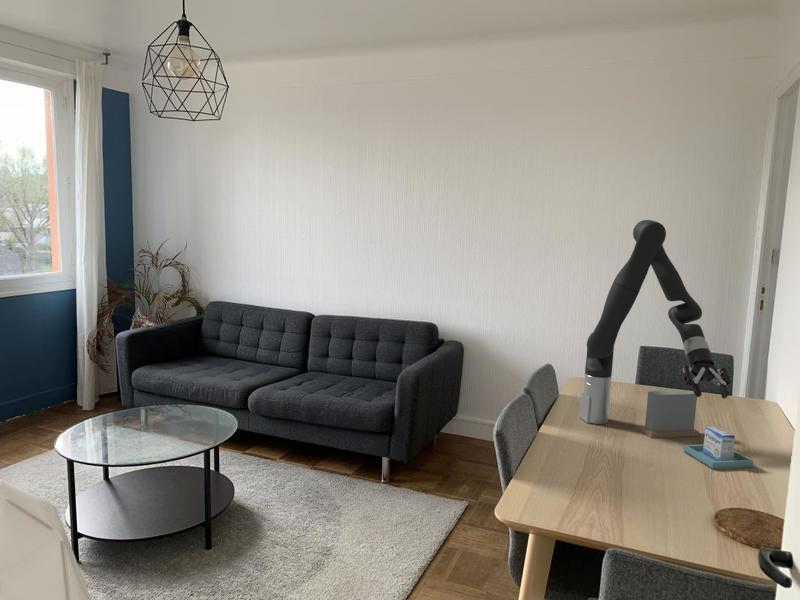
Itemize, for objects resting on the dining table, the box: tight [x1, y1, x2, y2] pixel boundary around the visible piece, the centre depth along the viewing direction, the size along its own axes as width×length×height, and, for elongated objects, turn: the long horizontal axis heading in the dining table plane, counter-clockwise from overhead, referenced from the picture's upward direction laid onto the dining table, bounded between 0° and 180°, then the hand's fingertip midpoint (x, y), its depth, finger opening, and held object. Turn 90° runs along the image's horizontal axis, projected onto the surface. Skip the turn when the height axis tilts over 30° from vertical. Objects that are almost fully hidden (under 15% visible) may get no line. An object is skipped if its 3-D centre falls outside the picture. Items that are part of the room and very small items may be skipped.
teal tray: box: [682, 443, 754, 471], centre depth 183 cm, size 14×14×2 cm
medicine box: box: [703, 426, 736, 461], centre depth 183 cm, size 8×4×9 cm, turn 10°
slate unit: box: [639, 390, 700, 438], centre depth 205 cm, size 18×7×14 cm, turn 100°
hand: (712, 396), depth 188 cm, fingers open, 8 cm apart
